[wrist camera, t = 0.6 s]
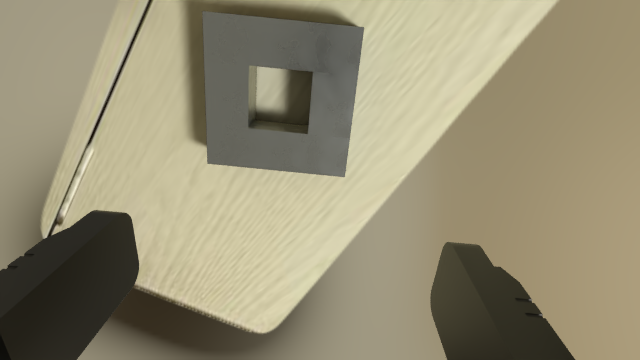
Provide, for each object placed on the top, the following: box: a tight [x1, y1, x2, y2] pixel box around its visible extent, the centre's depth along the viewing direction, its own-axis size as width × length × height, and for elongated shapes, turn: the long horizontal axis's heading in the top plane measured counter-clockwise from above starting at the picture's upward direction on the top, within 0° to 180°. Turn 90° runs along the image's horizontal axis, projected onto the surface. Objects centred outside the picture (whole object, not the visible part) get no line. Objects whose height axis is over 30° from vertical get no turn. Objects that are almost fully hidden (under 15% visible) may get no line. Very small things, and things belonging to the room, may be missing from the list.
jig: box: [202, 11, 364, 177], centre depth 29 cm, size 12×12×3 cm
